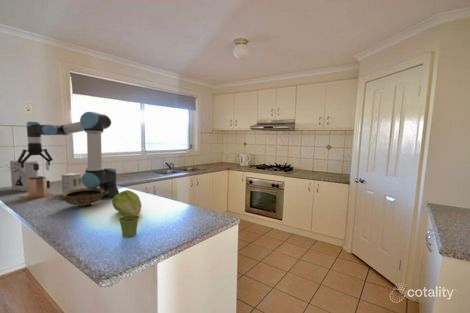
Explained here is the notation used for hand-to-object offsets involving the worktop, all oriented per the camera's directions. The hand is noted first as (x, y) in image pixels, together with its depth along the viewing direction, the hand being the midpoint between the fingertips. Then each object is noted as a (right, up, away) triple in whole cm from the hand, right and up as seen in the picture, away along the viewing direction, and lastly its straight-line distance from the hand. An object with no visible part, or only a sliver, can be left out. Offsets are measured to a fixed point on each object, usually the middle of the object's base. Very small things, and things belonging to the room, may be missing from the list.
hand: (36, 171), depth 168 cm
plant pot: (+97, -28, -57) cm, 116 cm away
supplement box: (+17, -20, +14) cm, 30 cm away
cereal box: (-32, -18, +26) cm, 45 cm away
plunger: (0, -18, +2) cm, 18 cm away
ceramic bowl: (+46, -23, -14) cm, 53 cm away
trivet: (0, -21, +2) cm, 21 cm away
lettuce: (+83, -25, -28) cm, 91 cm away
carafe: (0, -19, +3) cm, 19 cm away
